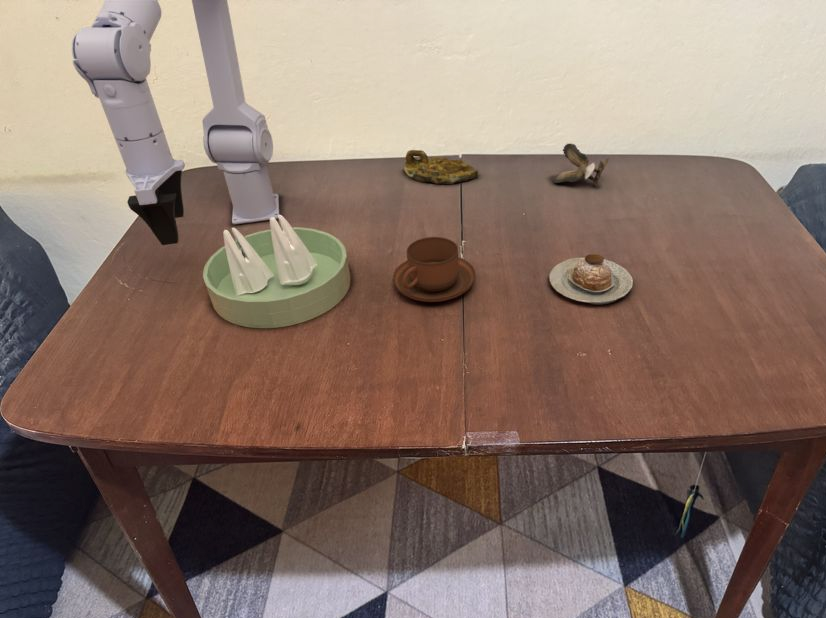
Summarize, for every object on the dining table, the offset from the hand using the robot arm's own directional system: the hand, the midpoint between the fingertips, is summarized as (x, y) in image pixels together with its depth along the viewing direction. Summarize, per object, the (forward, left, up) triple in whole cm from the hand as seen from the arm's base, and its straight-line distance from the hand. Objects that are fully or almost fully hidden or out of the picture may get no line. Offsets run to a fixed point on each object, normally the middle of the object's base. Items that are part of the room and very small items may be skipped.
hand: (173, 229), depth 88 cm
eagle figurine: (-19, +68, -11) cm, 71 cm away
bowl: (+2, +13, -10) cm, 17 cm away
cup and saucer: (+8, +35, -11) cm, 37 cm away
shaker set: (+2, +12, -10) cm, 16 cm away
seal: (-30, +44, -11) cm, 54 cm away
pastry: (+14, +57, -11) cm, 59 cm away
